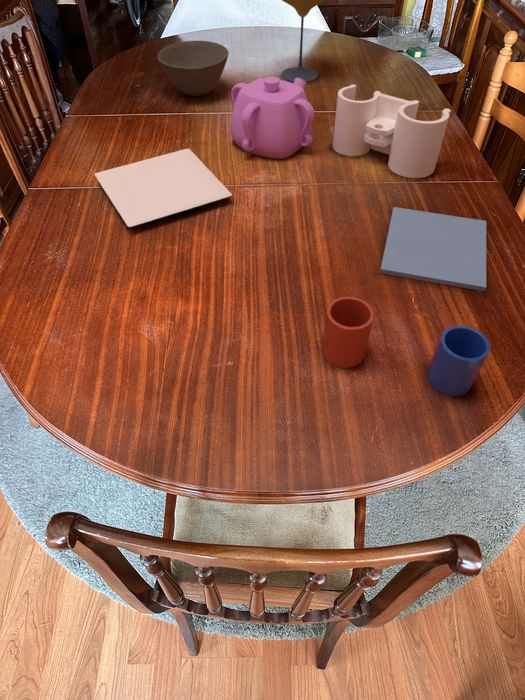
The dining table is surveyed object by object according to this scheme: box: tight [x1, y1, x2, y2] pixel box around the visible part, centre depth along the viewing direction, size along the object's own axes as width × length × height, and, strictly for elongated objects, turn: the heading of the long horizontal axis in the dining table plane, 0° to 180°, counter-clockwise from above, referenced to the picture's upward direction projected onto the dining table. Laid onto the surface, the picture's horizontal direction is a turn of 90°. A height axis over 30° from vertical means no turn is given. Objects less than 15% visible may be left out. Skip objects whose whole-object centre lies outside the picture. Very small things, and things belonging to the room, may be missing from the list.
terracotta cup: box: [321, 296, 375, 369], centre depth 75 cm, size 7×7×8 cm
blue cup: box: [426, 325, 491, 397], centre depth 72 cm, size 6×6×8 cm
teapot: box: [230, 75, 315, 160], centre depth 118 cm, size 19×21×14 cm
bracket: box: [332, 84, 452, 179], centre depth 113 cm, size 25×10×12 cm, turn 54°
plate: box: [94, 148, 233, 228], centre depth 107 cm, size 22×22×2 cm
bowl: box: [157, 40, 230, 97], centre depth 137 cm, size 19×19×10 cm
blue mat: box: [379, 206, 487, 292], centre depth 95 cm, size 18×20×1 cm
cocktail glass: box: [281, 0, 327, 83], centre depth 139 cm, size 18×18×25 cm
